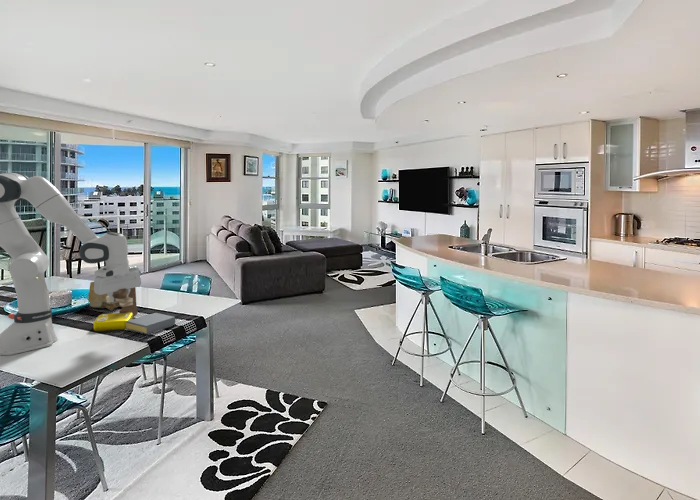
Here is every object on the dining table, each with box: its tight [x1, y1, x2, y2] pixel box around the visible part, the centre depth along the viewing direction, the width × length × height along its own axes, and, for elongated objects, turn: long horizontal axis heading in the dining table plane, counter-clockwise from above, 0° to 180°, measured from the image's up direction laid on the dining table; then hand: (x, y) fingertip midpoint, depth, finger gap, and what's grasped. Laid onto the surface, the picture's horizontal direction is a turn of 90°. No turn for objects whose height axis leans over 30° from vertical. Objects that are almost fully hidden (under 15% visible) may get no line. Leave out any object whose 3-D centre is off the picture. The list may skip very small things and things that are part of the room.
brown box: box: [112, 288, 126, 299], centre depth 195 cm, size 3×5×4 cm, turn 62°
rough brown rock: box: [87, 281, 121, 311], centre depth 244 cm, size 23×17×15 cm
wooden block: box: [118, 287, 138, 317], centre depth 226 cm, size 9×4×18 cm, turn 178°
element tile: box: [92, 312, 134, 332], centre depth 214 cm, size 15×15×5 cm
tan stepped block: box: [106, 296, 133, 308], centre depth 195 cm, size 5×12×3 cm, turn 62°
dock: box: [126, 312, 176, 335], centre depth 212 cm, size 16×14×4 cm
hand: (119, 300), depth 195 cm, fingers closed on tan stepped block, 5 cm apart
